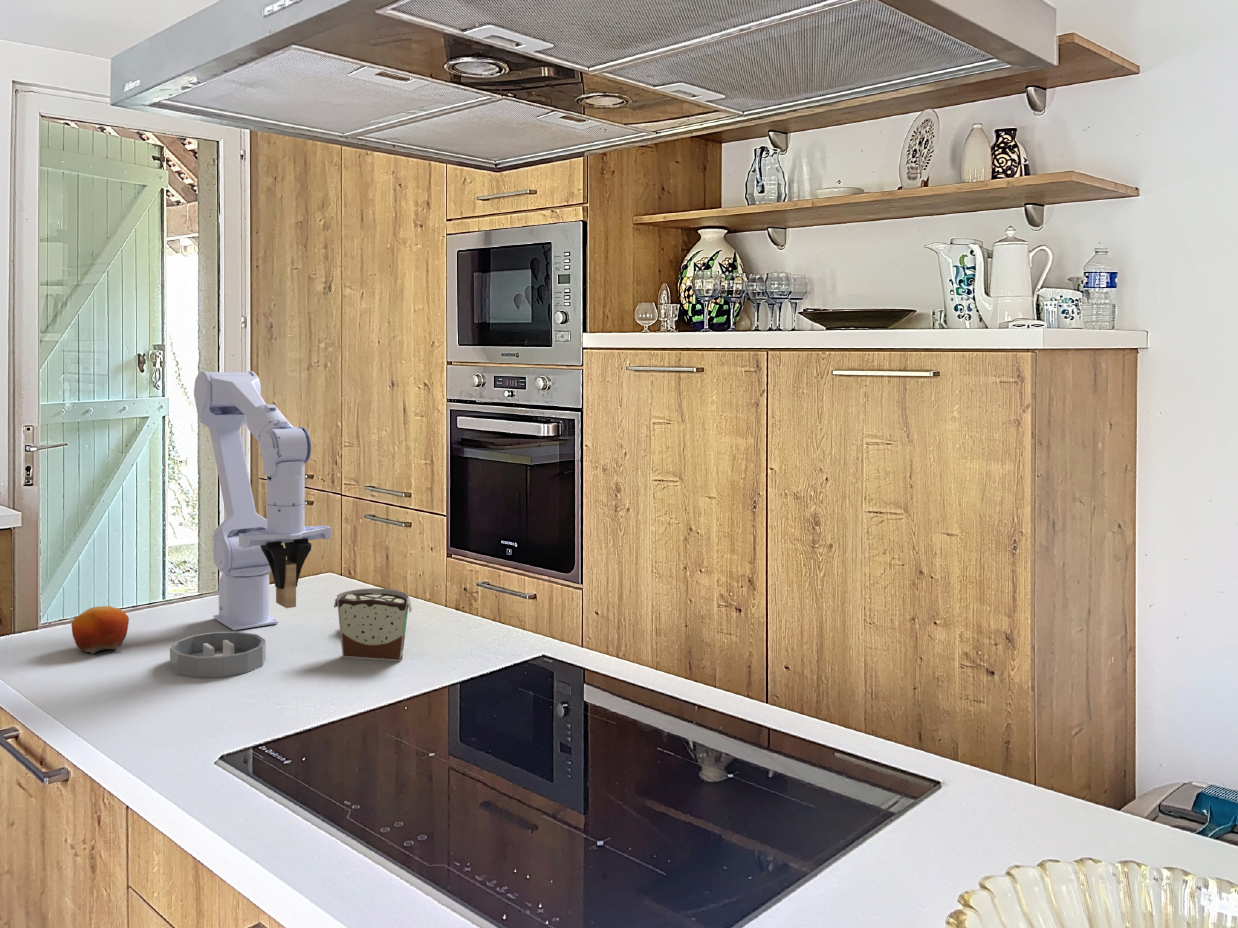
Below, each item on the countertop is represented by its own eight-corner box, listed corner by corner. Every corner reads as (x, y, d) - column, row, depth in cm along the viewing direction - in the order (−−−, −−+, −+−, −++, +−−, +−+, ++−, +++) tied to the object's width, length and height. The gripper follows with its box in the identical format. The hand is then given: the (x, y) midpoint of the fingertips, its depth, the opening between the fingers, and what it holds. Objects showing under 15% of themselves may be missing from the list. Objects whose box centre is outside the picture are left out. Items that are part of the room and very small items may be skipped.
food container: (421, 650, 170) (422, 590, 169) (409, 661, 164) (410, 599, 163) (347, 645, 172) (347, 585, 170) (333, 656, 165) (333, 594, 164)
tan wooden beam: (276, 602, 171) (276, 560, 170) (285, 601, 172) (285, 559, 171) (286, 608, 168) (286, 565, 167) (295, 606, 169) (296, 564, 168)
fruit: (84, 653, 158) (75, 603, 160) (72, 668, 163) (64, 619, 166) (140, 644, 163) (131, 596, 165) (127, 659, 169) (118, 611, 171)
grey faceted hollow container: (159, 659, 161) (159, 640, 160) (244, 645, 169) (244, 627, 169) (189, 683, 151) (189, 663, 151) (278, 666, 160) (278, 647, 159)
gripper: (251, 511, 160) (251, 598, 161) (339, 503, 169) (339, 585, 171) (233, 504, 165) (234, 588, 167) (320, 497, 174) (320, 577, 176)
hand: (286, 586), depth 169 cm, fingers closed on tan wooden beam, 1 cm apart
